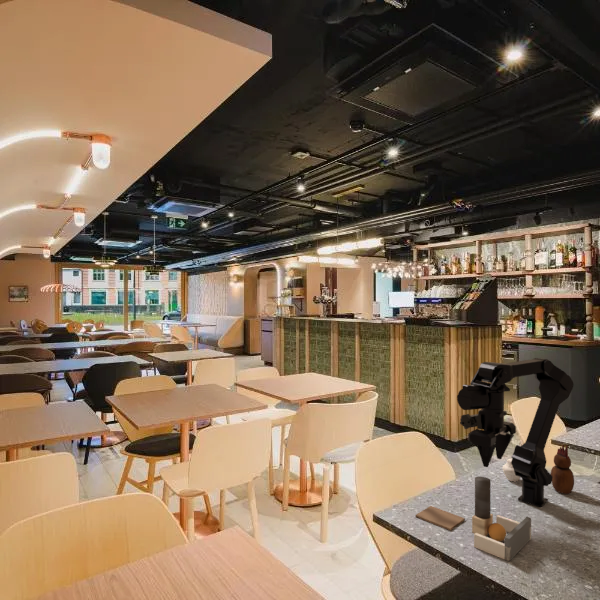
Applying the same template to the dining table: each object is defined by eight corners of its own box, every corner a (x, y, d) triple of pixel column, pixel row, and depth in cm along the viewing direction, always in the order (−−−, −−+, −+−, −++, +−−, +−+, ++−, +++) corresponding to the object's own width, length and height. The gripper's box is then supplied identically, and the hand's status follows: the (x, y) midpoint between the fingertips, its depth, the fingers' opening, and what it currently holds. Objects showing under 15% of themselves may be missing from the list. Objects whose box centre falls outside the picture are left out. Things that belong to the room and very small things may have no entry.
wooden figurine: (577, 496, 132) (577, 446, 132) (556, 495, 133) (556, 445, 133) (568, 487, 138) (568, 440, 138) (548, 486, 139) (548, 439, 140)
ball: (511, 528, 106) (505, 541, 107) (495, 517, 109) (490, 530, 110) (504, 533, 103) (499, 547, 104) (488, 522, 106) (483, 536, 107)
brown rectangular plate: (430, 507, 124) (430, 505, 124) (464, 520, 117) (464, 518, 117) (415, 516, 118) (415, 514, 118) (450, 530, 111) (450, 528, 111)
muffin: (498, 476, 147) (498, 455, 147) (515, 476, 148) (516, 455, 148) (509, 484, 141) (509, 462, 141) (527, 483, 141) (527, 461, 142)
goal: (497, 526, 113) (497, 507, 113) (531, 538, 108) (531, 518, 108) (474, 547, 104) (474, 525, 104) (509, 561, 98) (509, 538, 98)
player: (479, 525, 112) (479, 474, 112) (493, 530, 110) (494, 478, 110) (471, 532, 109) (471, 479, 109) (485, 538, 106) (485, 484, 106)
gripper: (478, 398, 136) (478, 448, 136) (450, 407, 123) (449, 463, 123) (516, 404, 128) (516, 457, 128) (490, 414, 115) (489, 474, 115)
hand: (492, 462), depth 123 cm, fingers open, 9 cm apart
